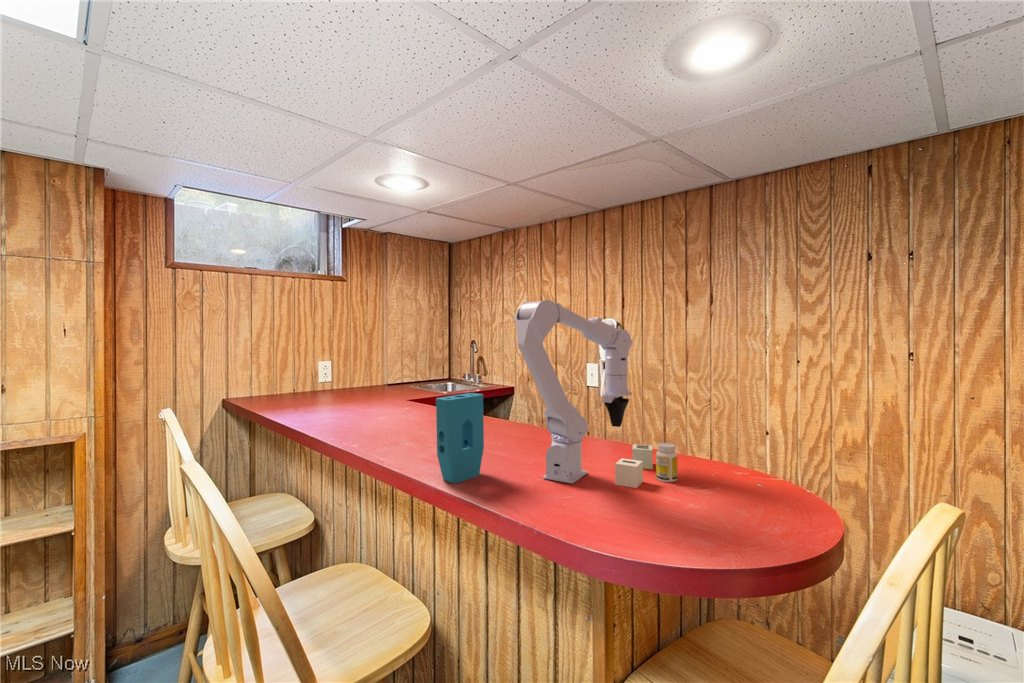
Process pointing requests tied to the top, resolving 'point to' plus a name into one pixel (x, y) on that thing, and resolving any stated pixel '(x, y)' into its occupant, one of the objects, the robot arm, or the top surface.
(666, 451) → the supplement bottle
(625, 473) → the numbered block one
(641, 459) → the numbered block two
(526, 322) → the robot arm
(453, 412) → the block
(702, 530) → the top surface
